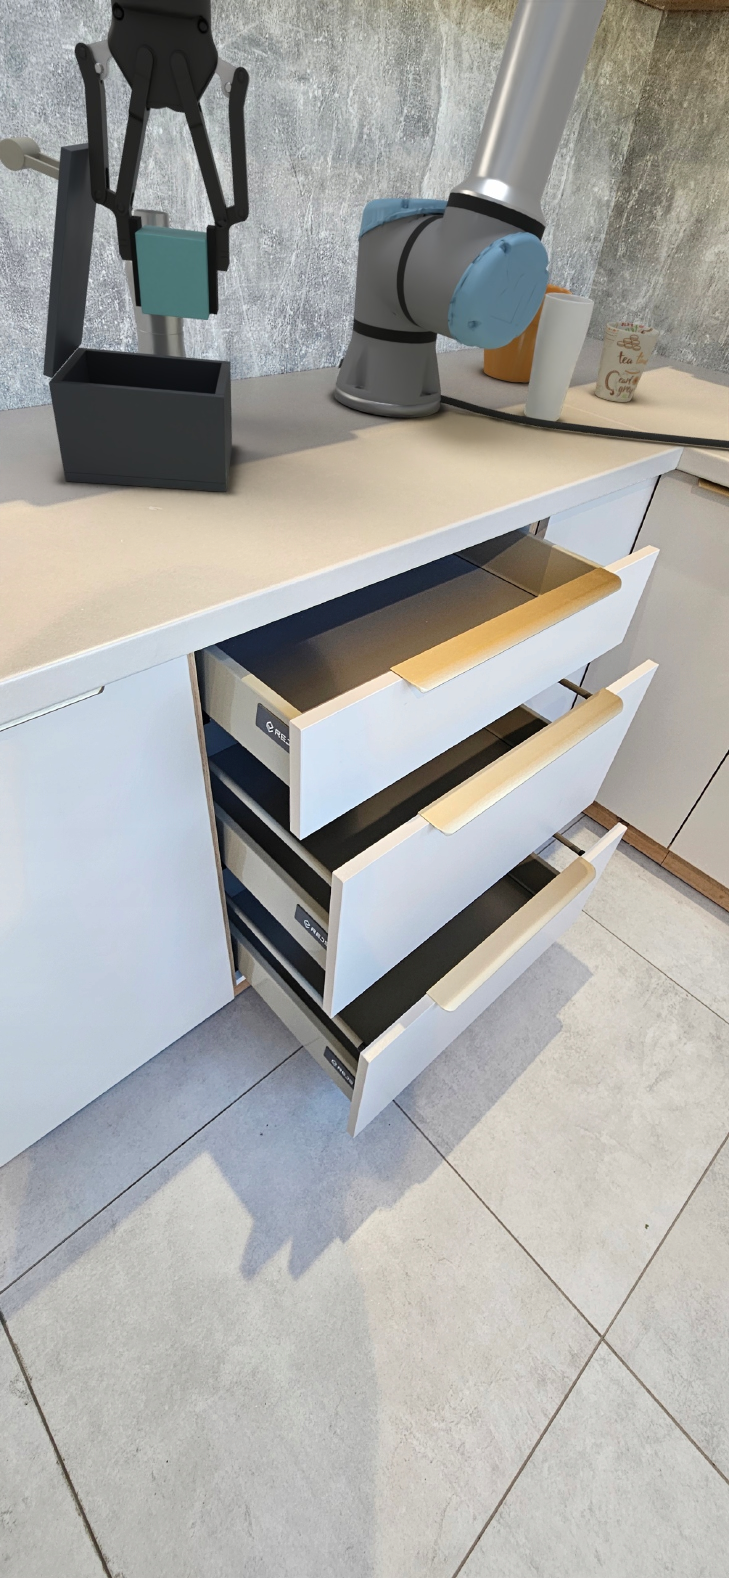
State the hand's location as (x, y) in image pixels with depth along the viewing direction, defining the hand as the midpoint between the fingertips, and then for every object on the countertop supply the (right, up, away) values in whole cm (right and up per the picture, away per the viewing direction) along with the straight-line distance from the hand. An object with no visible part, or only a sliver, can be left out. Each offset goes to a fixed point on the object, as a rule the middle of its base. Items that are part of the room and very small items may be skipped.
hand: (178, 307), depth 70 cm
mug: (+60, +21, +54) cm, 84 cm away
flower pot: (+43, +25, +56) cm, 75 cm away
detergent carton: (0, 0, 0) cm, 0 cm away
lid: (-8, +2, -3) cm, 9 cm away
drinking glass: (+44, +9, +39) cm, 59 cm away
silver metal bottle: (-7, +1, +23) cm, 24 cm away
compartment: (-5, -11, +9) cm, 15 cm away
